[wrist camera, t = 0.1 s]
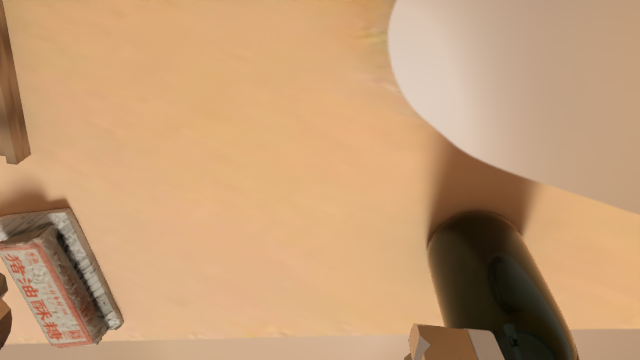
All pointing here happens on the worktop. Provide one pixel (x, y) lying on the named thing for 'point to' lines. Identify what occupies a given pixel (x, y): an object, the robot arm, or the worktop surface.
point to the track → (10, 103)
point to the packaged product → (58, 276)
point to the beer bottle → (496, 288)
